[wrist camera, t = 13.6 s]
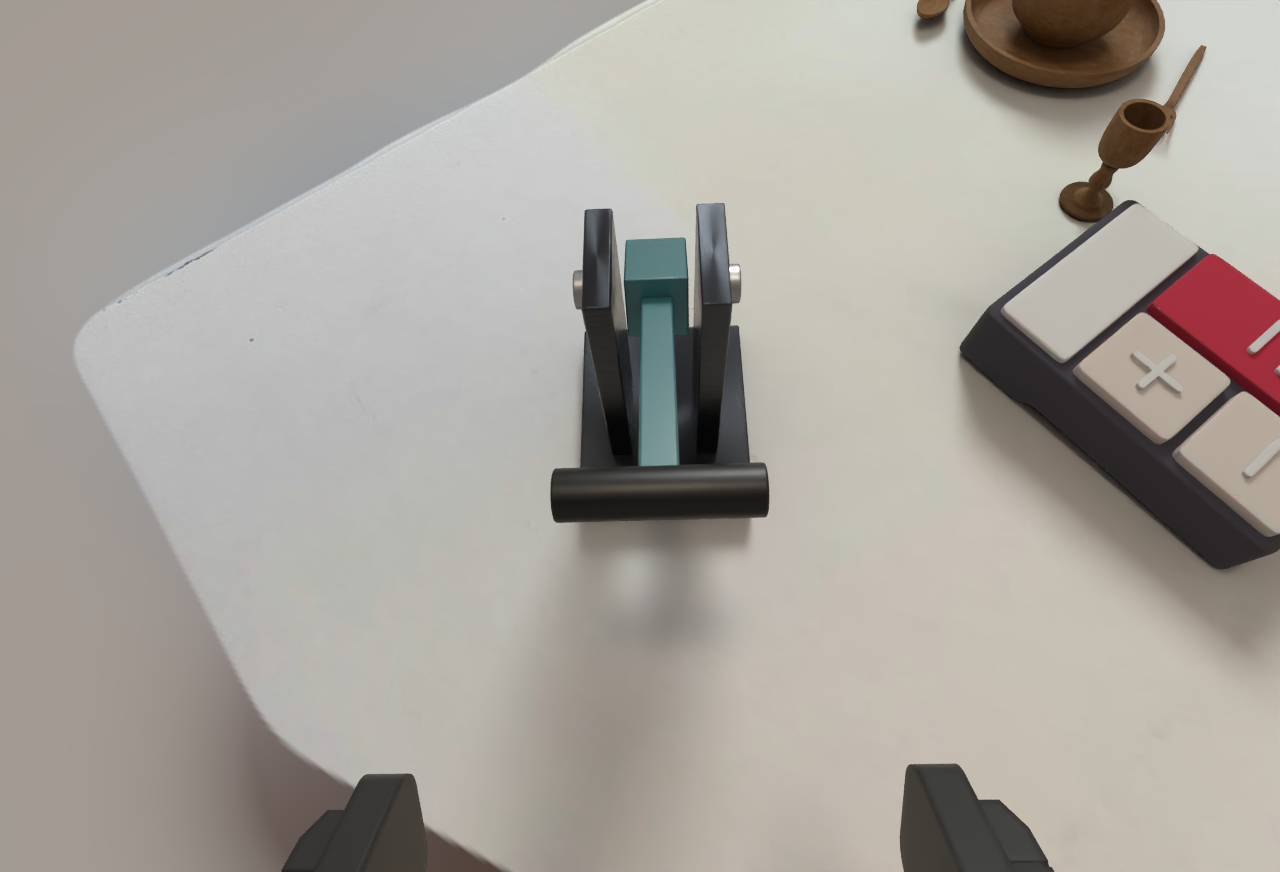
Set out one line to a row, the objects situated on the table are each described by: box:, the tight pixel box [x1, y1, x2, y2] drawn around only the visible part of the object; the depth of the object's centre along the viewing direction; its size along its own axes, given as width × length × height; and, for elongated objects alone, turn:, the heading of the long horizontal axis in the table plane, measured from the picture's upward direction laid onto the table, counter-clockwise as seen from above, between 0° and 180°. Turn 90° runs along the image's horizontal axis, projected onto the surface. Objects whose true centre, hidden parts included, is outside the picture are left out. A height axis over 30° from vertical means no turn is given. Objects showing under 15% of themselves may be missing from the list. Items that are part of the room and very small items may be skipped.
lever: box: [551, 238, 769, 523], centre depth 23 cm, size 12×6×2 cm, turn 0°
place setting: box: [917, 0, 1206, 221], centre depth 43 cm, size 18×20×6 cm
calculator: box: [960, 200, 1280, 569], centre depth 34 cm, size 11×4×15 cm
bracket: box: [573, 203, 750, 468], centre depth 30 cm, size 10×8×13 cm
